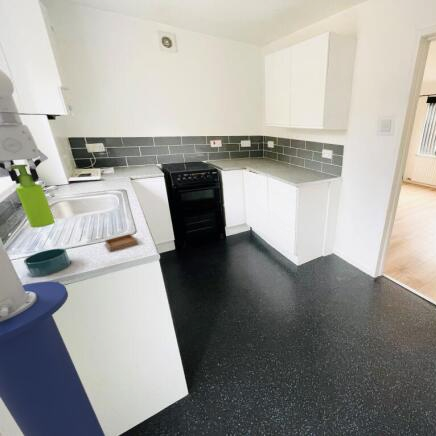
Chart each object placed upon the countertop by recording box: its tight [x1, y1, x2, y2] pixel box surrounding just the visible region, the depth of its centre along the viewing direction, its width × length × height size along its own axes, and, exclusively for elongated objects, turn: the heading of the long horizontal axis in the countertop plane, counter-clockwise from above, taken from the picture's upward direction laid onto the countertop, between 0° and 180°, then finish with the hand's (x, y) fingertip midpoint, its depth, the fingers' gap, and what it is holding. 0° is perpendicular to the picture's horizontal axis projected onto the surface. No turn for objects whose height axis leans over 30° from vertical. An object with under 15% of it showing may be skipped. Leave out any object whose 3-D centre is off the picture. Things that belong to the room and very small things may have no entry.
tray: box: [104, 233, 138, 253], centre depth 103 cm, size 10×10×2 cm
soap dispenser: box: [10, 164, 56, 229], centre depth 79 cm, size 6×7×20 cm
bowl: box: [23, 248, 71, 278], centre depth 85 cm, size 11×11×5 cm
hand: (26, 181), depth 77 cm, fingers closed on soap dispenser, 3 cm apart
